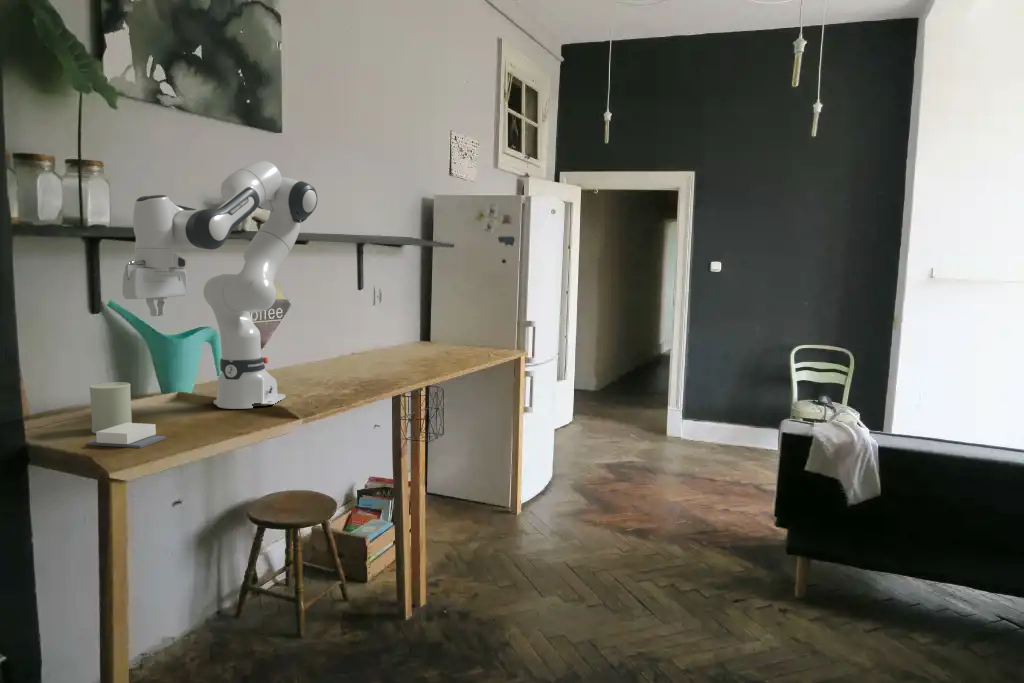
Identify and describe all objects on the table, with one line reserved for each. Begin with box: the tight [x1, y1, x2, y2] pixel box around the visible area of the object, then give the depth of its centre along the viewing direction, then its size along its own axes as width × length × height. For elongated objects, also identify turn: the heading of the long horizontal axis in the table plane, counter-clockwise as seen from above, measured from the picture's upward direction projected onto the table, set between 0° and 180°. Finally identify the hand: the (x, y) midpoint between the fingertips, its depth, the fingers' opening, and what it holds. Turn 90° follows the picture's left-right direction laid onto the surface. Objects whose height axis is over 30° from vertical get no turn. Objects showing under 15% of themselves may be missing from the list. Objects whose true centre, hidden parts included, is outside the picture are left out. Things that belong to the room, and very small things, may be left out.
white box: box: [95, 422, 157, 444], centre depth 172 cm, size 3×8×10 cm
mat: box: [86, 435, 166, 449], centre depth 172 cm, size 9×14×1 cm, turn 80°
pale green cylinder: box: [89, 381, 133, 434], centre depth 184 cm, size 9×9×12 cm
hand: (157, 315), depth 182 cm, fingers closed
